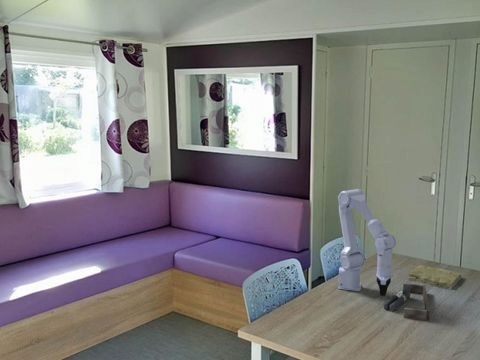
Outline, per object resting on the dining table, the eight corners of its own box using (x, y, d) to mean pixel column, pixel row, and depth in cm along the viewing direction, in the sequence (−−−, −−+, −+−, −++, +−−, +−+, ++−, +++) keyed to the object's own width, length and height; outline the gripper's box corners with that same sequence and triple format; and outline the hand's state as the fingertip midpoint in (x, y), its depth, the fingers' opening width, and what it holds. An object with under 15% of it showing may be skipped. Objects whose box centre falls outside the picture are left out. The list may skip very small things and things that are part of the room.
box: (404, 317, 190) (404, 308, 189) (403, 290, 216) (403, 282, 215) (428, 320, 187) (429, 311, 186) (424, 292, 213) (425, 285, 213)
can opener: (400, 295, 212) (401, 281, 210) (412, 298, 208) (413, 284, 207) (381, 309, 197) (382, 294, 196) (394, 313, 194) (394, 297, 193)
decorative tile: (418, 270, 243) (419, 263, 243) (461, 279, 231) (462, 271, 231) (405, 281, 229) (406, 273, 228) (450, 291, 217) (451, 283, 216)
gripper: (394, 270, 195) (392, 303, 197) (394, 259, 208) (393, 289, 210) (376, 268, 197) (374, 300, 199) (377, 257, 210) (376, 287, 213)
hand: (382, 295), depth 205 cm, fingers closed
